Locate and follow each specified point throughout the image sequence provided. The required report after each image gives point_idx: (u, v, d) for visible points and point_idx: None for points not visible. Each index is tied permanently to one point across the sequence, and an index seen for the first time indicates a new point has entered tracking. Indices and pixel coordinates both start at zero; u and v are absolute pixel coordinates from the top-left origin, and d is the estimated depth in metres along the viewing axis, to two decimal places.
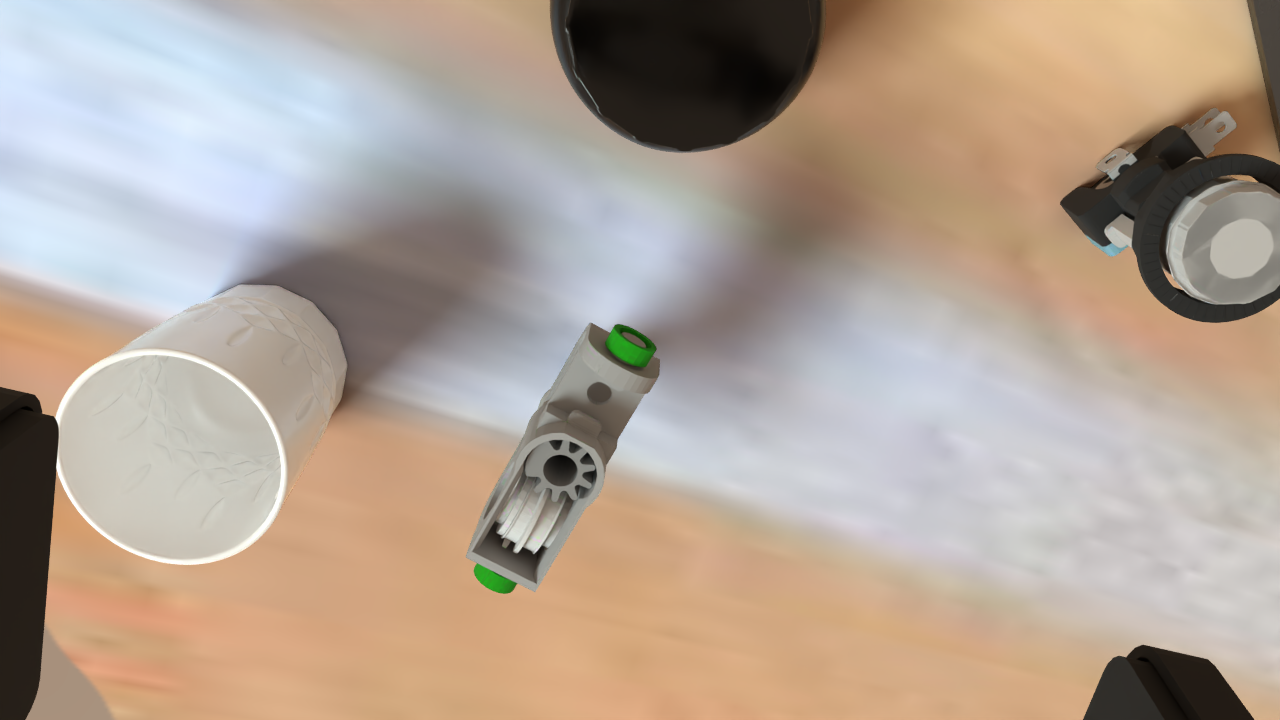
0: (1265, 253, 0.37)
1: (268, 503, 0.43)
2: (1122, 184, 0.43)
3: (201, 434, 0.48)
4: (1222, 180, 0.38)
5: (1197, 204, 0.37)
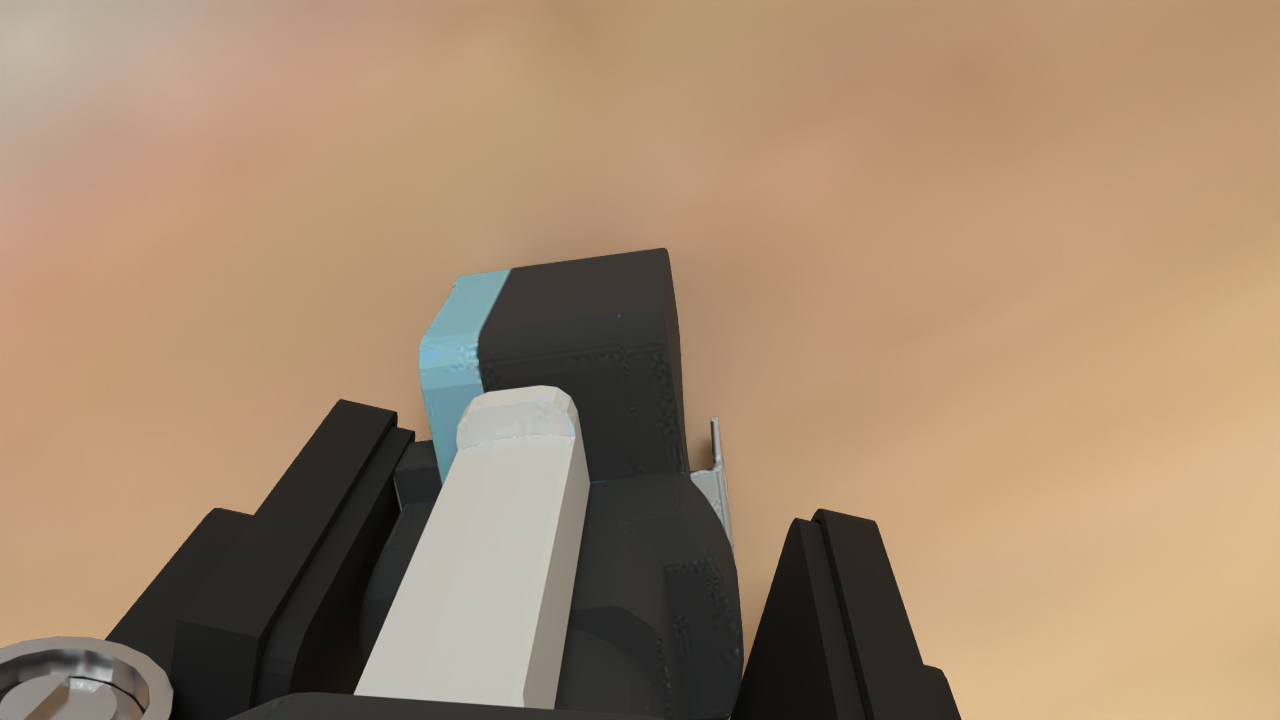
0: None
1: None
2: (719, 551, 0.10)
3: None
4: None
5: None
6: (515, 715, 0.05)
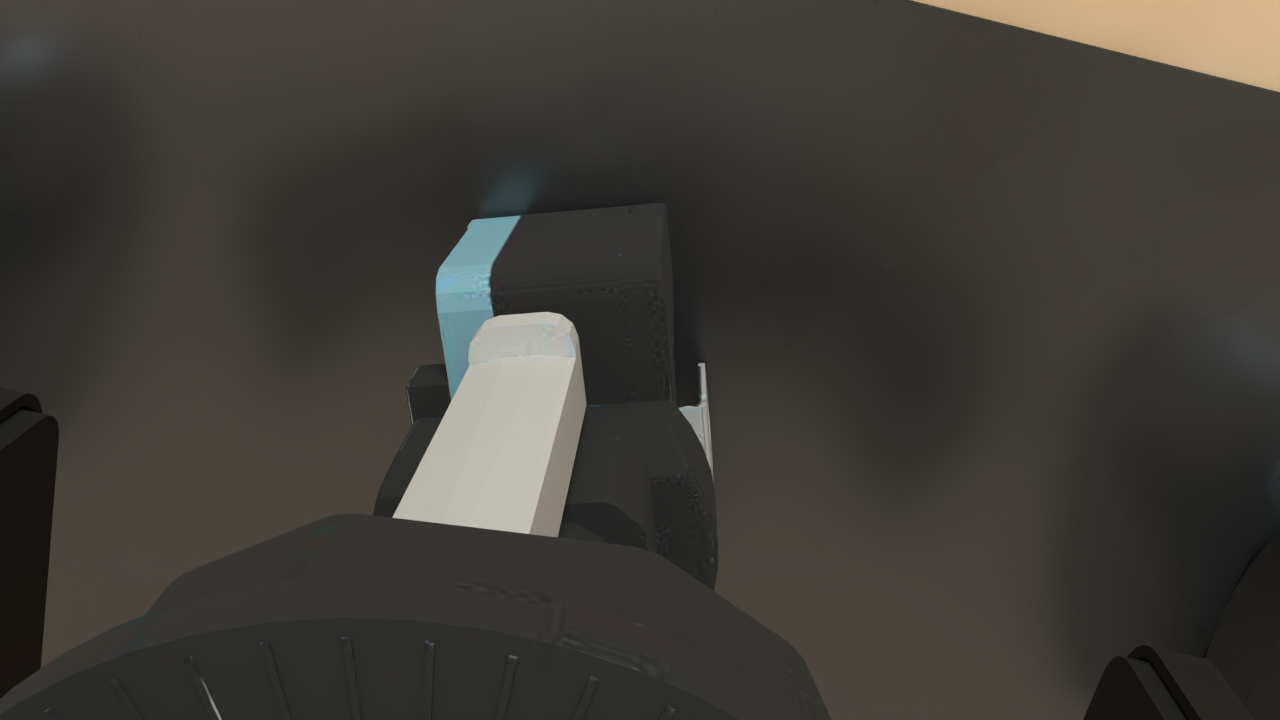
0: None
1: None
2: (700, 470, 0.11)
3: None
4: None
5: None
6: (524, 538, 0.06)
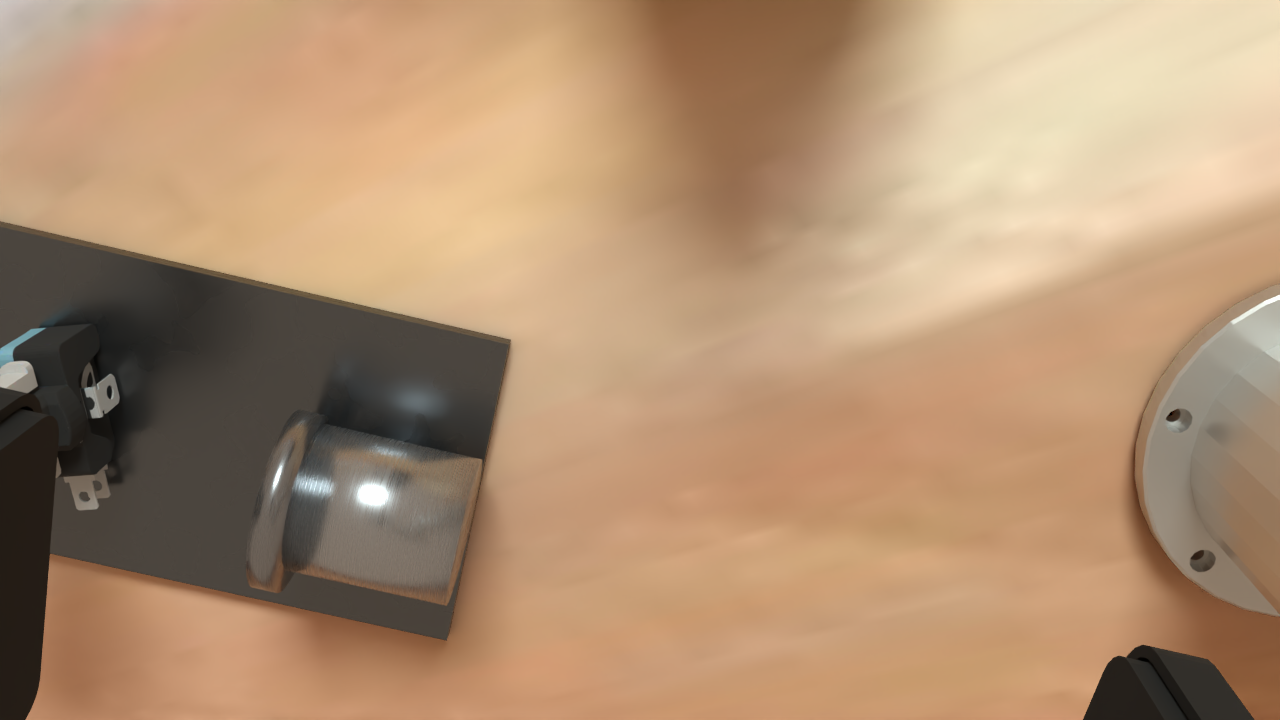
0: None
1: None
2: (67, 403, 0.39)
3: None
4: None
5: None
6: None
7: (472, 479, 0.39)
